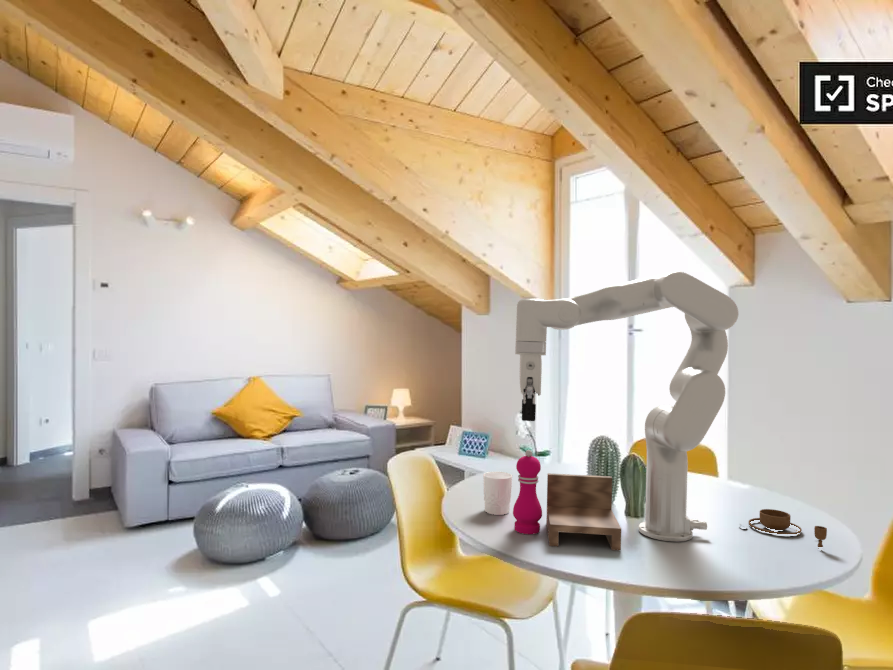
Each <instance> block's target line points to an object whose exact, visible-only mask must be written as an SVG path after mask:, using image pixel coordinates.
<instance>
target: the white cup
mask: <svg viewBox="0 0 893 670" xmlns="http://www.w3.org/2000/svg"><path fill="white" fill-rule="evenodd" d="M482 481H483V501H484V511H485V513H486V512H487V514H489V515H493V514H494V516H503V515H504V514H505V515H508V514H509V513H510V510H511V509H510V507H511V498H512V487H513V485H512V484H513V483H512V482H513V475H512V474H511V473H508V472H504V471H488V472H484V473H483V480H482Z"/></svg>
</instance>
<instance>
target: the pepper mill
mask: <svg viewBox="0 0 893 670" xmlns="http://www.w3.org/2000/svg"><path fill="white" fill-rule="evenodd" d="M524 454H525V455H523V456H520V458H518V460H517V462H516V464H515V465H516V466H515V467H516V471H517V472H518V475H517V478H518V479H517V480H518V482H519V494H518V496H517V498H516V501H515V503H514V505H513V508H512V515H513V517H514V518H515V522H514V527H513V529H514V531H515V532H516V531H517V533H518V532H519V534H522V533H523V535H536V534H538V532H539V533H540V531H541V523H540V522H539V521H540V520H541V519H542V517H543V510H542V505H541V503H540V500H539V497H538V495H537V484H538V483H539V476H538V475H539V474H540V472H541V468H542V467H541V462H540V460H539V459H538V458H537V457H535V456H533V451H532V450H530V449H527V450H526V451H525V453H524Z"/></svg>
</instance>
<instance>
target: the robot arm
mask: <svg viewBox="0 0 893 670" xmlns="http://www.w3.org/2000/svg"><path fill="white" fill-rule="evenodd" d="M670 308H676V309H677V310H679V311H680V312H682V313H684V320H685V322H686V323H687V325H688V328H689V331H690V335H691V341H690V345H689V347H688V350H687V352H686V355H685V356H684V358H683V359H682V361H681V363H680V365H679V366H678V369H677V371H675V374H673V377H672V378H671V380H670V382H669V383H670V384H669V393H670V394H669V395H670V396H671V397H672V399H673V400H674V401H675V404H674V405H673V406H672V405H665V404H663V405H659V406H656V407H654V408H652V409H651V410H650V411H649V412H648V414H647V415H646V419H645V422H644V434H645V442H646V443H645V444H646V445H645V446H646V471H645V472H646V473H645V476H646V477H645V514H644V515H645V516H644V517H645V521H642V522H640V523H639V524H638V531H639V532H640V533H641V534H642V535H644V536H646V537H649V538H650V539H654V540H659V541H665V542H673V543H674V542H675V543H676V542H686V541H689V540H691V539H693V536H694V535H693V533H694V532H693V530H694V529H695V530H701V531H702V530H703V531H706V530H707V529H708V524H707V523H708V522H707V521H699V519H698V518H697V519H696V518H689V517H688V516H687V509H688V508H687V503H688V502H687V501H688V469H689V467H688V465H689V461H688V460H689V459H688V453H687V452H689V451H692V450H694V449H695V448H696V447H698V446H699V445H700V444H701V442H702V441H703V440H704V438H705V437H706V435H707V433H708V431H709V430H710V427H711V426H712V424H713V422H714V420H715V419H716V417H717V416H718V413H719V412H720V410H721V408H722V406H723V404H724V401H725V398H726V385H725V382H724V381H723V379H722V378H721V377H720V375H719V373H720V371H721V368H722V366H723V364H724V362H725V360H726V357H727V354H728V349H729V348H728V347H729V343H728V342H729V341H728V336H727V333H726V330H729V329H730V328H732V327H734V325H735V323H736V322H737V320H738V317H739V307H738V305H737V304H736V302H735V301H734V300H733V299H732V298H731V297H730V296H728V295H726V294H725V293H724V292H722V291H720V290H719V289H716V288H714V287H713V286H711V285H709V284H707V283H706V282H704V281H702V280H700V279H698V278H696V277H694V276H693V275H690V274H689V273H686V272H684V271H680V270H674V271H670V272H666V273H662V274H657V275H653V276H649V277H643V278H640V279H634V280H631V281H627V282H621V283H617V284H613V285H610V286H606V287H603V288H600V289H598V290H595V291H592V292H588V293H583V294H580V295H577V296H573V297H567V298H559V299H548V300H546V299H545V300H544V299H540V298H523V299H520V300H519V301H517V304H516V319H515V321H516V323H515V325H516V326H515V351H514V353H515V355H519V389H520V394H521V395H522V399H521V420H522V421H523V422H535V421H536V414H537V413H536V407H537V404H536V395H537V396H538V397H539V396H541V395H542V371H543V369H542V365H543V361H542V356H547V355H546V354H547V332H548V330H547V329H548V328H550V329H553V330H556V331H557V330H560V331H562V330H563V331H564V330H570V329H572V328H574V327H576V326H580V325H586V324H590V323H596V322H602V321H614V320H621V319H626V318H630V317H635V316H638V315H642V314H647V313H650V312H656V311H660V310H664V309H670Z"/></svg>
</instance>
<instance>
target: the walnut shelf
mask: <svg viewBox="0 0 893 670" xmlns="http://www.w3.org/2000/svg"><path fill="white" fill-rule="evenodd" d="M546 482H547V483H546V486H547V487H546V490H547V491H546V523H545V524H546V531H548V532H547V536H548V537H547V539H548V545H549V547H559V536H560V535H559V533H572V534H587V535H603V536H604V535H605V537H606V540H607V542H608V545H609V544H610V545H609V547H610V549H611V551H619V550H621V551H622V527H621V525H620V523H619V522H618V519H617V518H616V515H615V513H614V511H613V509H612V506H613V505H612V503H613V499H612V497H613V496H612V495H613V477H612V475H611V476H609V475H607V476H605V475H590V474H589V475H587V474H570V473H569V474H567V473H549V472H548V473H547V481H546Z"/></svg>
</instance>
